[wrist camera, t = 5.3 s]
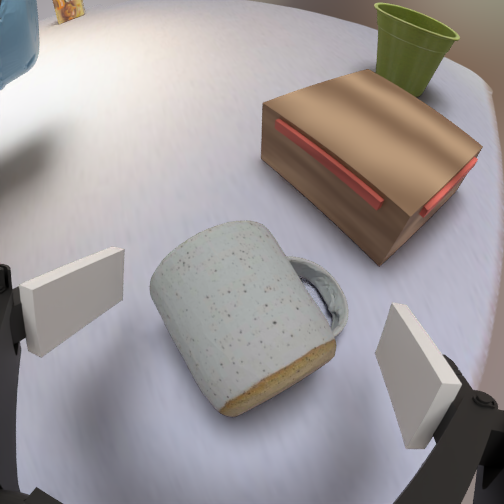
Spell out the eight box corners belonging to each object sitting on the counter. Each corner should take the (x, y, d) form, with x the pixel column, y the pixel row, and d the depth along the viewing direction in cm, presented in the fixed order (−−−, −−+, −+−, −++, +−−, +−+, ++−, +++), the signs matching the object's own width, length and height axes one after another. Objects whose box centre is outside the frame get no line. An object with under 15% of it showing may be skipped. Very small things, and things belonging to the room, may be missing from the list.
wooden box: (379, 273, 22) (411, 224, 17) (257, 160, 28) (258, 104, 23) (459, 192, 27) (486, 149, 22) (357, 113, 33) (368, 69, 28)
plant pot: (420, 117, 34) (446, 41, 24) (344, 76, 38) (357, 3, 28) (446, 96, 38) (468, 35, 28) (383, 61, 42) (396, 2, 33)
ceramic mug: (227, 428, 17) (215, 424, 10) (164, 318, 21) (129, 257, 14) (367, 338, 20) (419, 287, 14) (297, 248, 24) (315, 172, 17)
